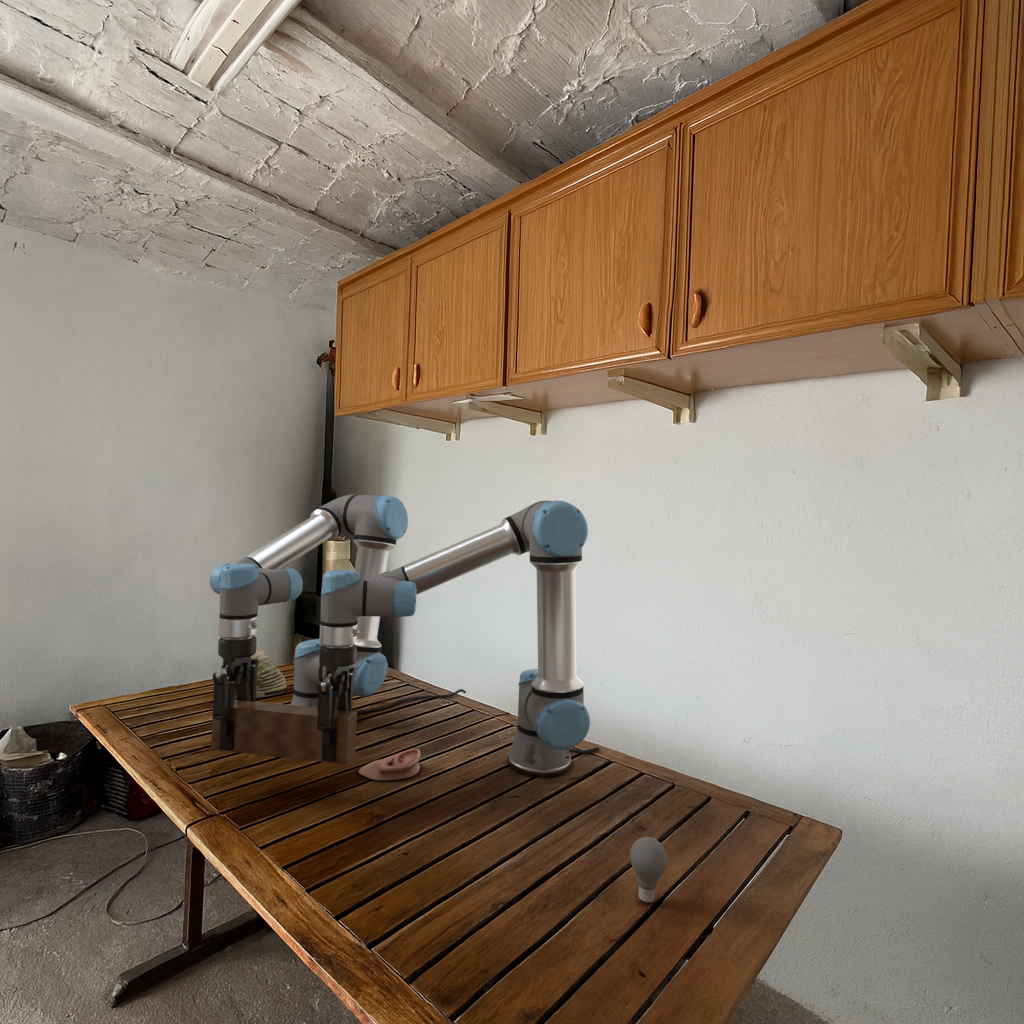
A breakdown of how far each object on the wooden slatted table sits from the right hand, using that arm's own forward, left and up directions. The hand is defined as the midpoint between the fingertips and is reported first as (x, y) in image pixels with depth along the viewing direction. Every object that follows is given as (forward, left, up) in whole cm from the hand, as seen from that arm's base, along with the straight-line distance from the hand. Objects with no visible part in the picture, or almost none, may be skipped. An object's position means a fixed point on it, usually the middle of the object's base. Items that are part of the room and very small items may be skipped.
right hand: (334, 755), depth 132 cm
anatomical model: (-15, -9, -10) cm, 20 cm away
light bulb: (-39, +53, -10) cm, 67 cm away
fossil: (+8, -78, -10) cm, 79 cm away
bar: (+9, -7, -1) cm, 11 cm away
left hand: (+18, -13, 0) cm, 23 cm away
